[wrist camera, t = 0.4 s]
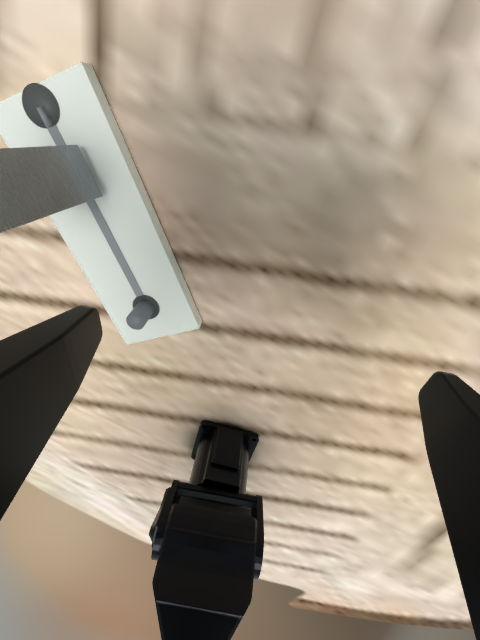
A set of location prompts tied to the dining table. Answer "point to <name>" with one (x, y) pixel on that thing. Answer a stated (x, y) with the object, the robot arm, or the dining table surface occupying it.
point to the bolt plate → (105, 206)
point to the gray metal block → (42, 183)
